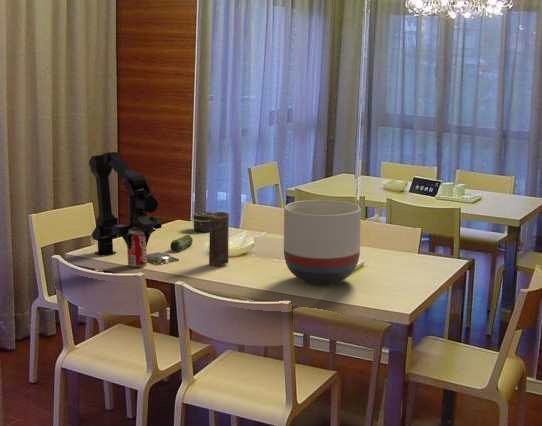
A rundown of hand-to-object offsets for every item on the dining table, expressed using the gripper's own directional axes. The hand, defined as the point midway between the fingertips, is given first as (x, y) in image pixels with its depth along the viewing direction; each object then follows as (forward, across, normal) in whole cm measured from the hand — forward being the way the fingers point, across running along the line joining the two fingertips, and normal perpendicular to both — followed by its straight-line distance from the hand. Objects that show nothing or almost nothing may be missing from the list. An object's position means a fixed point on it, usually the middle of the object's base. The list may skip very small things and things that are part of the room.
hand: (137, 249), depth 311 cm
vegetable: (+7, +28, +10) cm, 31 cm away
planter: (+7, +38, -60) cm, 71 cm away
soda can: (+7, 0, 0) cm, 7 cm away
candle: (+7, +24, -19) cm, 31 cm away
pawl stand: (+7, +11, +3) cm, 13 cm away
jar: (+7, +54, +30) cm, 62 cm away
